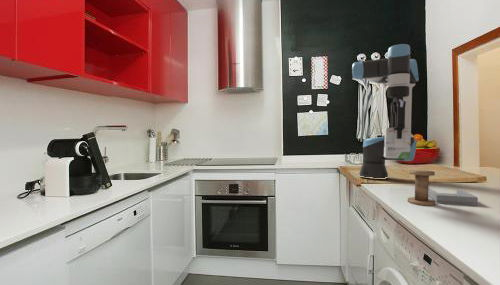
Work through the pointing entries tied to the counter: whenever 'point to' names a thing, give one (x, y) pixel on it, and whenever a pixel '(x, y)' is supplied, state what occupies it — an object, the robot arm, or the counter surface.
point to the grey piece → (453, 197)
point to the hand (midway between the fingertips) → (396, 146)
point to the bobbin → (421, 188)
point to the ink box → (389, 144)
